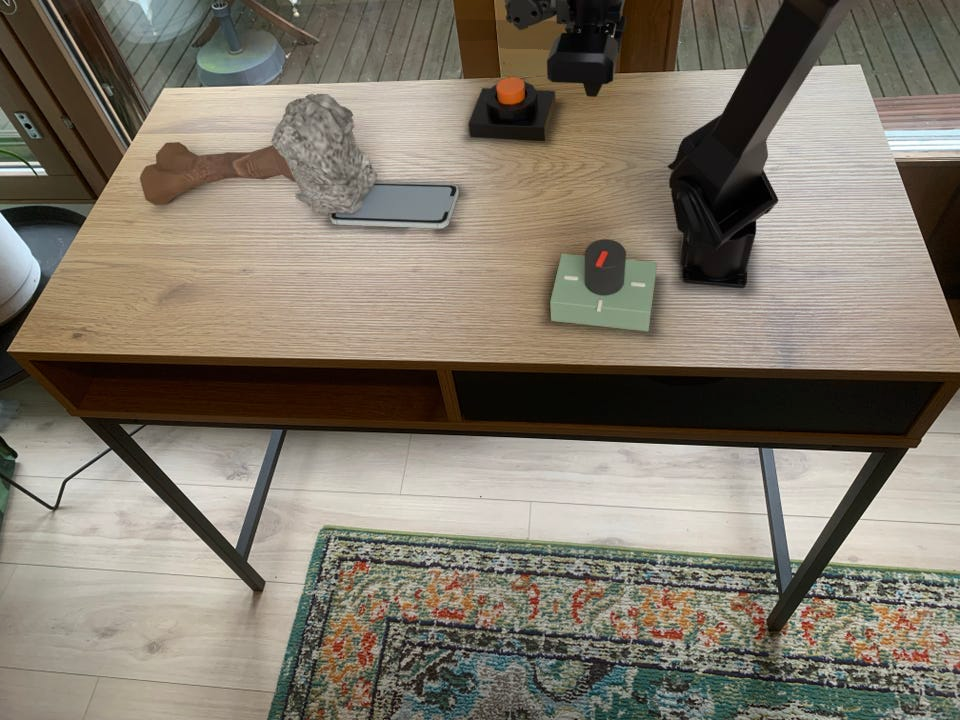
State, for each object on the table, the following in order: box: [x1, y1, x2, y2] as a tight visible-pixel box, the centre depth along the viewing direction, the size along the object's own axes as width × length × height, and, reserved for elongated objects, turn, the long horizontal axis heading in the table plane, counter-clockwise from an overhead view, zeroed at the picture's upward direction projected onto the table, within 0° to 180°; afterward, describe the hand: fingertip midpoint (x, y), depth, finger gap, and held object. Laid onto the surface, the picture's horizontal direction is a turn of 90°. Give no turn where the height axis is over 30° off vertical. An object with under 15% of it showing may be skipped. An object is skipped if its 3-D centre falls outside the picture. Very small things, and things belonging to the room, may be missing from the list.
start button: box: [496, 76, 525, 104], centre depth 96 cm, size 4×4×2 cm
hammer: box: [139, 93, 378, 215], centre depth 90 cm, size 15×10×30 cm
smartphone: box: [329, 181, 460, 229], centre depth 91 cm, size 7×1×15 cm
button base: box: [468, 80, 556, 142], centre depth 98 cm, size 10×8×4 cm
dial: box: [584, 238, 627, 295], centre depth 74 cm, size 4×4×4 cm
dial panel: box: [549, 253, 658, 332], centre depth 77 cm, size 10×8×3 cm
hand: (592, 94), depth 80 cm, fingers closed
